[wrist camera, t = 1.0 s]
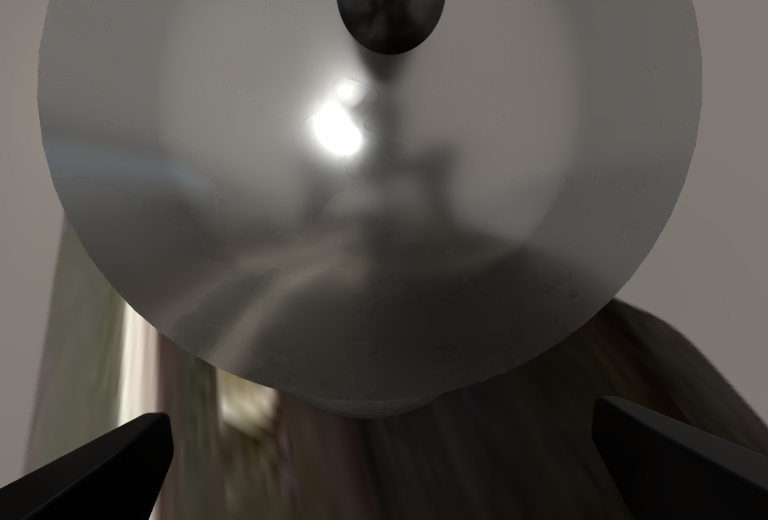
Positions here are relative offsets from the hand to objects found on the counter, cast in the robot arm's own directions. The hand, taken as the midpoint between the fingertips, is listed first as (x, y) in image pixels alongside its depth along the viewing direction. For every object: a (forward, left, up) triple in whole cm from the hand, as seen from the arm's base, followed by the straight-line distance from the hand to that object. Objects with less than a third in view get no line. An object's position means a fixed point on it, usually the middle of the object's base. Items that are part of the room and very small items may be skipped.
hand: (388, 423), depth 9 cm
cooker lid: (+6, 0, +3) cm, 7 cm away
